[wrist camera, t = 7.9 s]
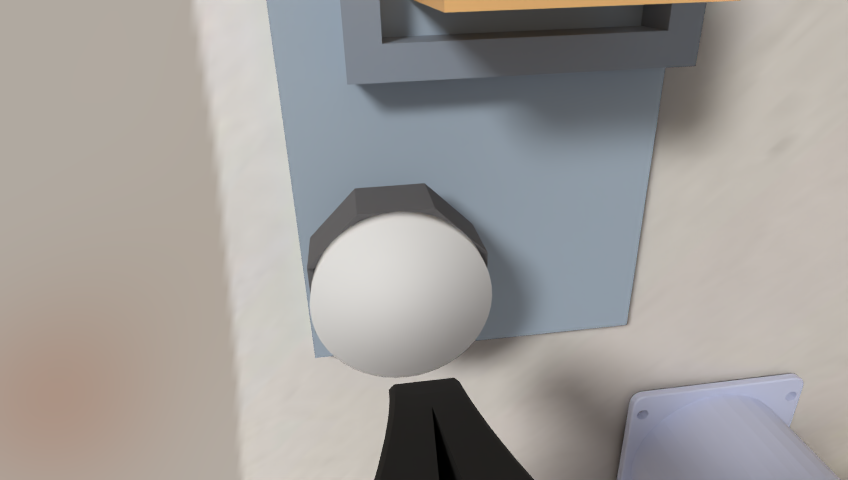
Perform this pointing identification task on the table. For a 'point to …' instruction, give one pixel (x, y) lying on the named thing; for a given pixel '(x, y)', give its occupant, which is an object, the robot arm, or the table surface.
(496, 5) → the tan oblong block
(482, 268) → the wheel
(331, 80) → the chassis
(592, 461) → the table surface
